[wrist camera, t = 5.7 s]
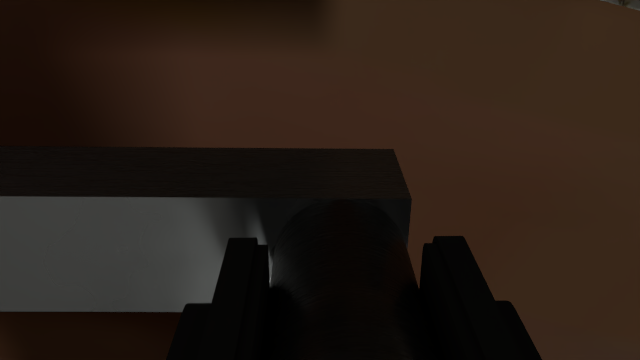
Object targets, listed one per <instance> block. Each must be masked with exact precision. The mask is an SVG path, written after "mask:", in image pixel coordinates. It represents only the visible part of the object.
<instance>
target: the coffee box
mask: <svg viewBox="0 0 640 360" xmlns="http://www.w3.org/2000/svg"><path fill="white" fill-rule="evenodd" d="M601 1H605V2H610V3H613V4H617V5H621V6H625V7H629V8H633V9H636V10H640V0H601Z"/></svg>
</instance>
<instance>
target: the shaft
mask: <svg viewBox="0 0 640 360" xmlns="http://www.w3.org/2000/svg"><path fill="white" fill-rule="evenodd" d="M411 200H412V199H411V196H410V193H409V190H408V188H407V185H406V182H405V179H404V177H403V174H402V171H401V168H400V166H399V163H398V160H397V157H396V155H395V152H394V149H311V148H179V147H47V146H0V312H182V311H183V309H184V307H185V305H186V304H187V303H212V299H213V295H214V292H215V288H216V284H217V280H218V277H219V273H220V269H221V265H222V262H223V258H224V254H225V251H226V247H227V243H228V240H229V238H253V237H257V240H258V245H268V256H269V279H270V293H269V302H268V311H267V319H266V328H265V336H264V345H263V354H262V360H440V359H439V356H438V353H437V349H436V346H435V342H434V339H433V336H432V332H431V329H430V325H429V322H428V319H427V315H426V312H425V308H424V305H423V302H422V298H421V295H420V291H419V288H418V285H417V281H416V278H415V274H414V271H413V268H412V264H411V261H410V257H409V254H408V251H407V246H408V235H409V223H410V212H411Z"/></svg>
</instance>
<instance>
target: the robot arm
mask: <svg viewBox="0 0 640 360" xmlns="http://www.w3.org/2000/svg"><path fill="white" fill-rule="evenodd" d="M419 291H420V295H421V298H422V302H423V305H424V308H425V312H426V315H427V319H428V322H429V325H430V329H431V332H432V336H433V339H434V342H435V346H436V349H437V353H438V356H439V359H440V360H542V359H541V357H540V355H539V353H538V351H537V349H536V347H535V346H534V344H533V342H532V340H531V338H530V336H529V334H528V332H527V330H526V329H525V327H524V325H523V323H522V321H521V319H520V317H519V315H518V313H517V312H516V310H515V308H514V306H513V305H512V304H511V302H509V301H495V300H494V297H493V295H492V293H491V291H490V289H489V287H488V285H487V283H486V281H485V279H484V277H483V275H482V273H481V271H480V269H479V267H478V265H477V263H476V261H475V259H474V256H473V254H472V252H471V250H470V248H469V246H468V244H467V242H466V240H465V238H464V237H463V236H435V237H434V239H433V242H432V243H425V244H424V246H423V253H422V265H421V276H420V288H419ZM269 293H270V279H269V256H268V245H258V240H257V237H253V238H229V240H228V243H227V247H226V251H225V254H224V258H223V262H222V265H221V269H220V273H219V277H218V280H217V284H216V288H215V292H214V295H213V299H212V303H187V304H186V305H185V307H184V309H183V311H182V314H181V317H180V320H179V323H178V326H177V329H176V332H175V335H174V338H173V341H172V344H171V347H170V350H169V353H168V356H167V359H166V360H262V354H263V345H264V336H265V328H266V319H267V311H268V302H269Z"/></svg>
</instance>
